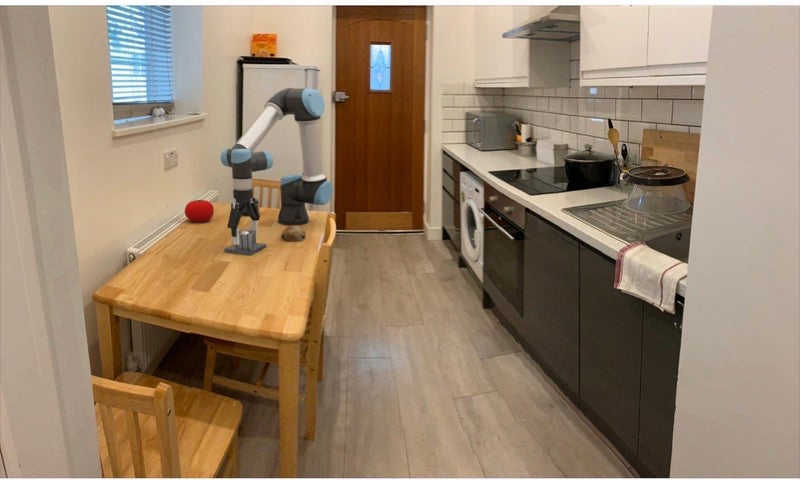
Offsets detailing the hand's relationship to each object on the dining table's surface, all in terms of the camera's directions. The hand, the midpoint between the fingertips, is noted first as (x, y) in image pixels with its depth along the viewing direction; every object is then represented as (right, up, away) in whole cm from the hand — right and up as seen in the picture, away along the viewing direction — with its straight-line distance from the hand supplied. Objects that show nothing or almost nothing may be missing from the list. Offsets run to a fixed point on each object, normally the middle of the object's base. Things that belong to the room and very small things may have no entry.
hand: (245, 239), depth 222 cm
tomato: (-35, +9, +44) cm, 57 cm away
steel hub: (0, -3, +1) cm, 3 cm away
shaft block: (0, -4, +1) cm, 4 cm away
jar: (-15, +13, +60) cm, 64 cm away
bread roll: (+16, 0, +19) cm, 25 cm away
